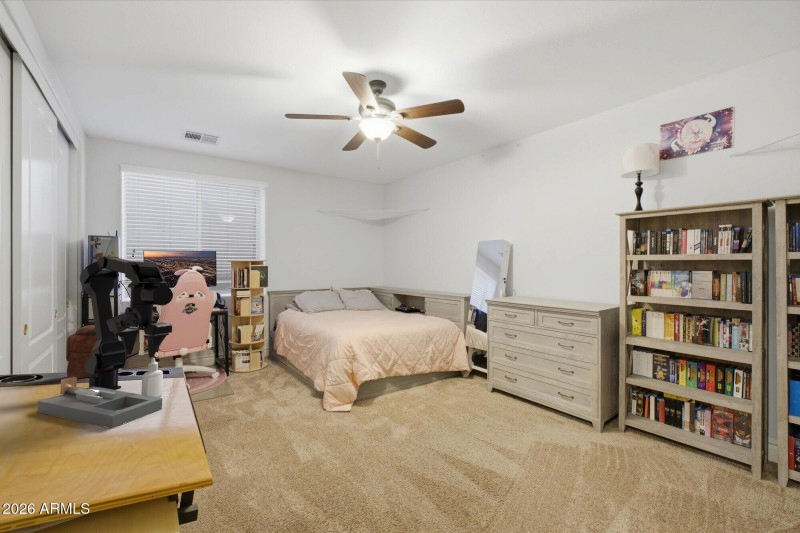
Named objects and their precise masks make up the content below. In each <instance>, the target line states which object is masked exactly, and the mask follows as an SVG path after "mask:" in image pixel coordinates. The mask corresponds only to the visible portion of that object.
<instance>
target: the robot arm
mask: <svg viewBox="0 0 800 533" xmlns="http://www.w3.org/2000/svg"><path fill="white" fill-rule="evenodd" d="M120 274H124V277H125V278H126V279H128V280H129V281H130V283H129V284H128V285H127V288H128V289H130V297H129V299H130V301H129V302H130V303H129V306H126V307H125V309H124V312H123V313H121V314H118V315H116V316H114V314H113V307H112V299H111V293H112V291H113V289H114V287H116V286H115V284H116V283H115V281H116V280H117V279H118V278H119V276H120ZM79 281H80V283H81V286H82V289H83V291H84V292H85V293H86V294H87V295H88V296H89V297H90V300H91V301H90V302H91V307H92V315H93V317H92V318H93V325H95V331H96V339H97V342H96V343H95V345H94V347H93V349H92V351H91V353H92V356H91V357H90V359H89V360H88V362H87V363H86V365H85V370H86V372H87V373H90V374H91V377H88V378H89V380H88V388H89V387H93V386H95V387H100V388H106V389H112V390H118V389H120V388H122V385H119V370H120V369H124V368H125V364H126V361H127V357H128V356H129V355H132V352H133V351H134V348H135V343H136V340H137V338H138V334H139V331H143V333H144V334H145V335H143V338H145V339H146V340H147V350H148V351H147V352H148V353H147V354H148V358H149V359H150V358H151V359H152V358H154V356H155V355H156V353H157V351H158V350H159V348H160V346H161V344H162V343H163V341H164V340H165V338H166V337H167V336H169V335H170V333H173V325H172V324H171V323H170V322H163V321H162V322H157V319H154V311H157V310H158V306H162V307H164V306H167V305H168V304H169V303H171V302H172V300H173V298H174V293H173V290H172V289H171V288H170V287H169V286H167V281H165V277H164V276H163V273H162V272H161V269H160V267H159V265H158V263H157V262H155V261H134V260H128V259H124V258H120V257H118V256H109V255H108V256H107V255H102V256H100V257H98V259H97V260H96V261H95V262H92V263H89V265H87V266H86V267H85V268H84V269H83V270H82V271H81V273H80V276H79ZM117 336H118V337H119V338H120V339H119V338H117Z"/></svg>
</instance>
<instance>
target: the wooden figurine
mask: <svg viewBox="0 0 800 533" xmlns="http://www.w3.org/2000/svg"><path fill="white" fill-rule="evenodd" d="M96 342H97V339H96V331H95V324H91V325H89V324H88V325H85V326H82V327H80V328H78V329H77V330H76V331H75V333H73V334H71V335H69V336H67V339H66V348H65V350H66V351H65V359H66V361H67V362H68V363H67V368H66V379H67V378H71V377H77V379H83V378H90V377H91V374H90V373H87V372H86V370H85V365H86V363H87V362H88V360H89V359H90V357H91V356H92V353H91V351H92V349H93V347H94V345H95V343H96Z"/></svg>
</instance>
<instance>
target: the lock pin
mask: <svg viewBox="0 0 800 533" xmlns="http://www.w3.org/2000/svg"><path fill="white" fill-rule="evenodd" d="M77 383H78V378H77V377H71V378H67V377H66V378H63V379H60V395H65V394H74V395H76V394H77V393H84V394H89V395H95V396H100V394H101V393H100V391H96V390H90V389H85V387H84V388H83V387H78V386H77Z"/></svg>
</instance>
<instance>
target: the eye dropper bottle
mask: <svg viewBox="0 0 800 533" xmlns="http://www.w3.org/2000/svg"><path fill="white" fill-rule="evenodd" d="M147 366H148V367H147V371H146V372H144V374H142V378H141V390H140V391H141V392H140V393H141V394H140V395H146V396H152V397H158V398H161V397H162V396H163V384H164V383H163V380H164V377H163V376H164V375H163V374H164V372H163V370H161V369H159V362H158V361H156V358H154V357H152V358H151V361H150V362H149V363H148V364H147Z"/></svg>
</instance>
